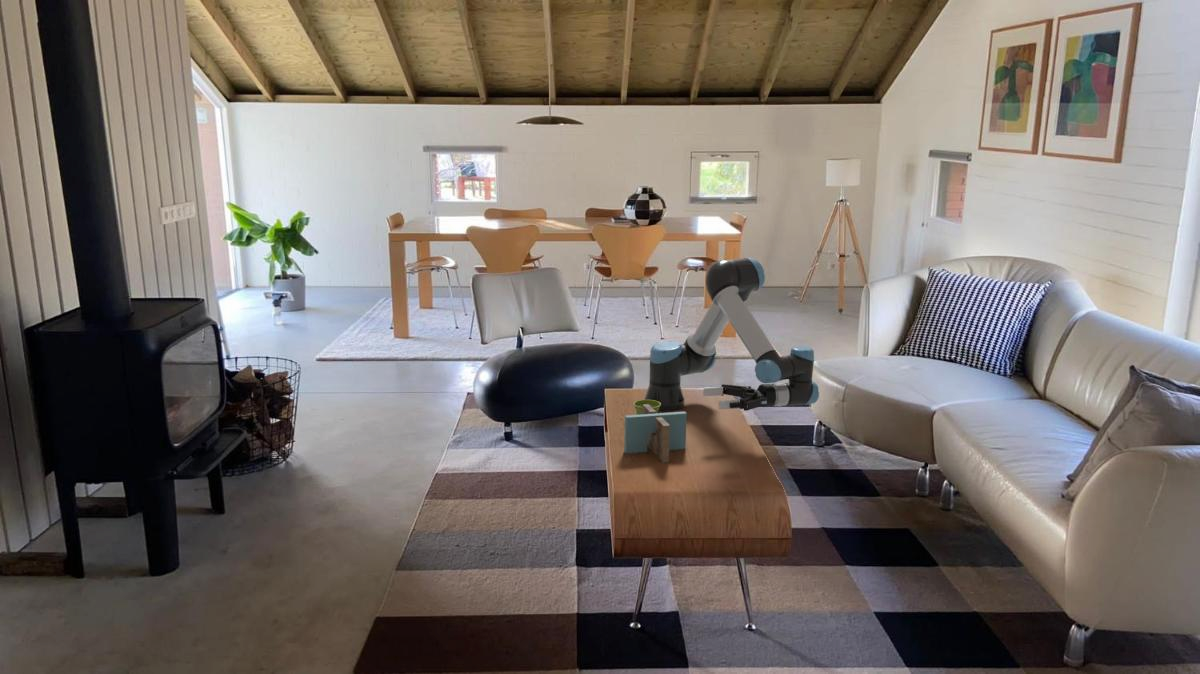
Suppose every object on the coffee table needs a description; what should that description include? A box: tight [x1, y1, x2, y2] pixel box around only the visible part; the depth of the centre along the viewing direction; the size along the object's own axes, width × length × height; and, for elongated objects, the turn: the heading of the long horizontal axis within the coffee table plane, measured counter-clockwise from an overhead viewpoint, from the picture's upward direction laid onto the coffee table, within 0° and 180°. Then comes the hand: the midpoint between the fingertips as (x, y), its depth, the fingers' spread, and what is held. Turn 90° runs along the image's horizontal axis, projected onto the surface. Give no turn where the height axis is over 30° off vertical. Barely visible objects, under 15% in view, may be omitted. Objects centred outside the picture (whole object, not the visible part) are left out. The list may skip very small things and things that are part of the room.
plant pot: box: [633, 399, 661, 415], centre depth 291 cm, size 9×9×9 cm
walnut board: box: [643, 404, 670, 463], centre depth 269 cm, size 22×2×12 cm, turn 14°
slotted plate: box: [623, 411, 688, 454], centre depth 269 cm, size 2×20×12 cm, turn 104°
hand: (711, 398), depth 271 cm, fingers open, 13 cm apart
